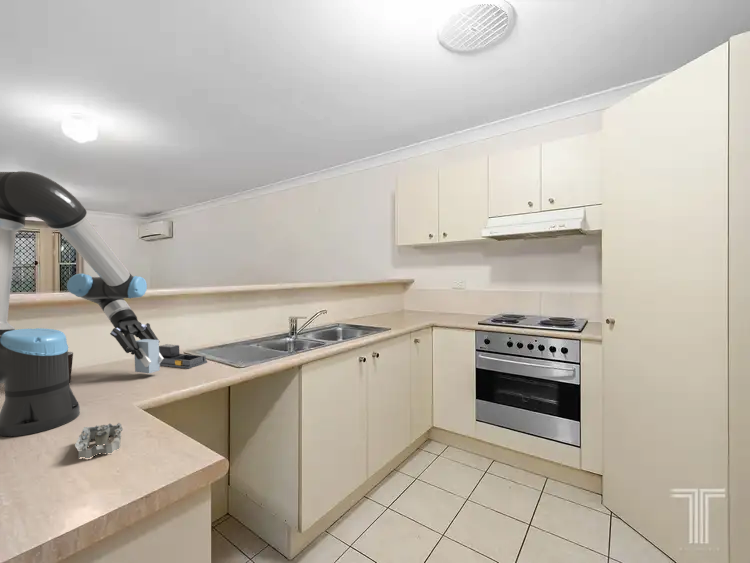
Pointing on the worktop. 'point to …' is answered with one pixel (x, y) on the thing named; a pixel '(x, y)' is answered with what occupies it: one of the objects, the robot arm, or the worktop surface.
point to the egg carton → (99, 440)
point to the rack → (179, 357)
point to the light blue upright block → (153, 354)
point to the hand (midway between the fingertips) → (154, 362)
